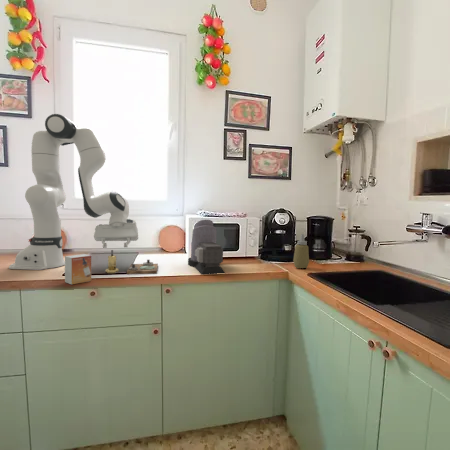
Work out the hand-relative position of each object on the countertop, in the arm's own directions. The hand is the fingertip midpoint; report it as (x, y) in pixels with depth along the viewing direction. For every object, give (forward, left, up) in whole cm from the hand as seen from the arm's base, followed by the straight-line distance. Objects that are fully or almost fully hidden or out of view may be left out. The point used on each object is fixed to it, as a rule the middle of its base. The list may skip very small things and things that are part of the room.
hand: (115, 246), depth 134 cm
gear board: (+13, -2, -11) cm, 17 cm away
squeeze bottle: (+94, -4, -11) cm, 94 cm away
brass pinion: (0, -5, -11) cm, 12 cm away
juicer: (+44, +2, -11) cm, 45 cm away
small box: (-10, -20, -11) cm, 25 cm away
